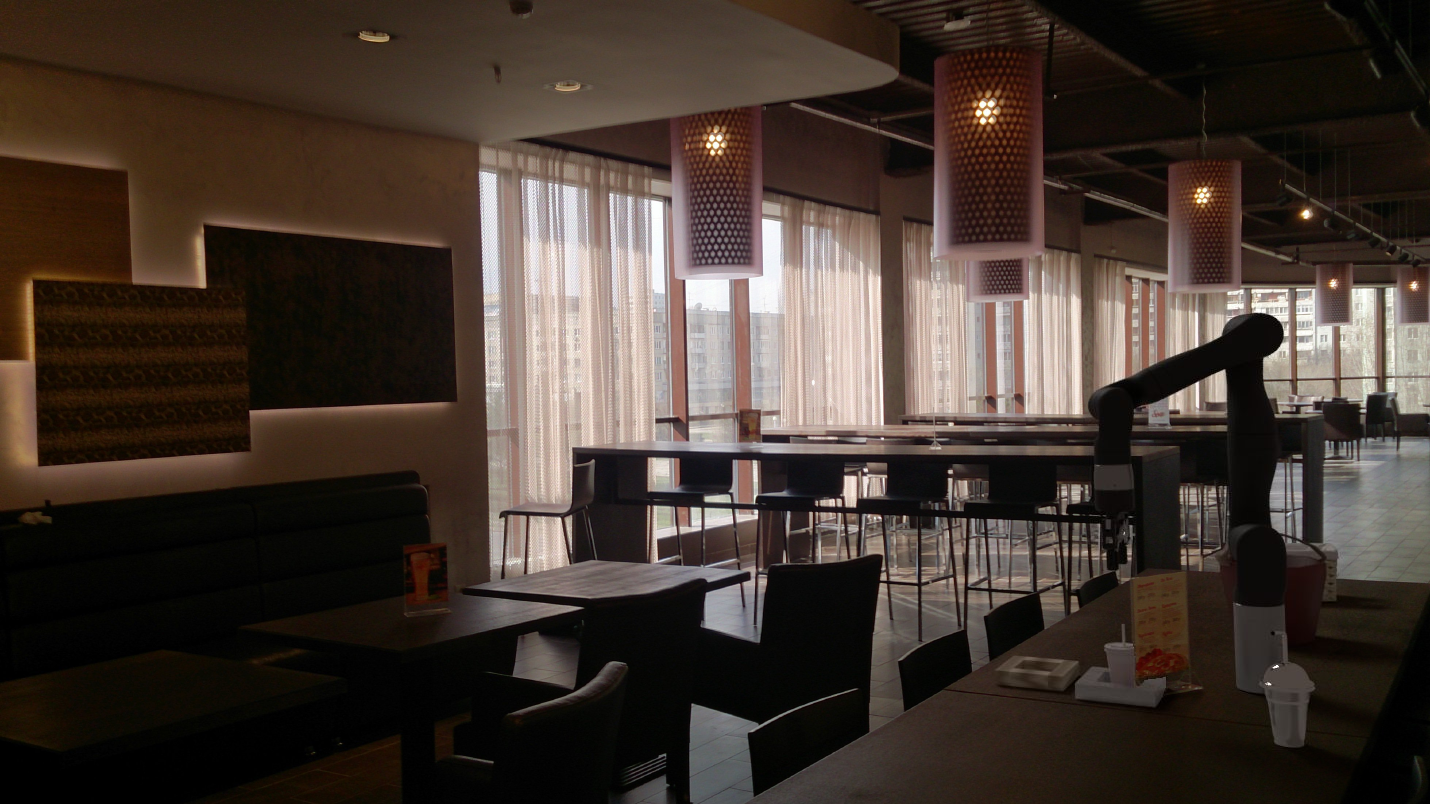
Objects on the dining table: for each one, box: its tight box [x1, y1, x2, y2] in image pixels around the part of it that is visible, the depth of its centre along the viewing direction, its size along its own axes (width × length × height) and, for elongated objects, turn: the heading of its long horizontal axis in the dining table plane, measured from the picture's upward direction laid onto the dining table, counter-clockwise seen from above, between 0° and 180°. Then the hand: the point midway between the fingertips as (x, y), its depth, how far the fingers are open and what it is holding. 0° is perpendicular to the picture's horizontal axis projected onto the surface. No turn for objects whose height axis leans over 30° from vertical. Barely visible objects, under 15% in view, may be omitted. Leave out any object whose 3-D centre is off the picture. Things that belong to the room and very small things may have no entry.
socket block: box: [994, 655, 1080, 692], centre depth 234 cm, size 14×14×3 cm
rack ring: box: [1074, 666, 1166, 708], centre depth 222 cm, size 15×15×3 cm
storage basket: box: [1285, 542, 1340, 602], centre depth 312 cm, size 24×16×15 cm
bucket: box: [1214, 532, 1327, 646], centre depth 265 cm, size 24×22×25 cm
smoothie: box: [1104, 623, 1137, 685], centre depth 221 cm, size 6×6×14 cm
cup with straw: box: [1259, 631, 1316, 748], centre depth 188 cm, size 8×9×20 cm
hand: (1117, 567), depth 222 cm, fingers open, 8 cm apart
